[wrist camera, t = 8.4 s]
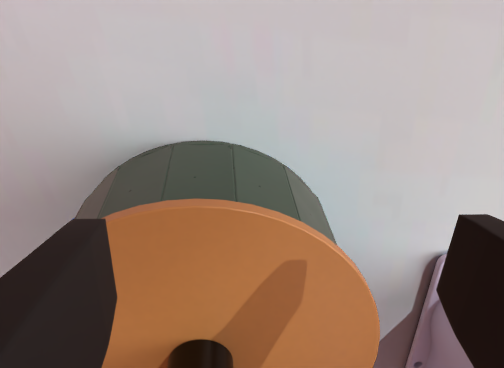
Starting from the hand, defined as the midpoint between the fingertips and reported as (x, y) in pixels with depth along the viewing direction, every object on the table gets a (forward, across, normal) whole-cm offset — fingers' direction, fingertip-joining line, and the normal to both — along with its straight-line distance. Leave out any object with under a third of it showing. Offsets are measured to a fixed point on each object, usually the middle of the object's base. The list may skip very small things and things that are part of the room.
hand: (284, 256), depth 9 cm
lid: (+4, +2, +8) cm, 9 cm away
